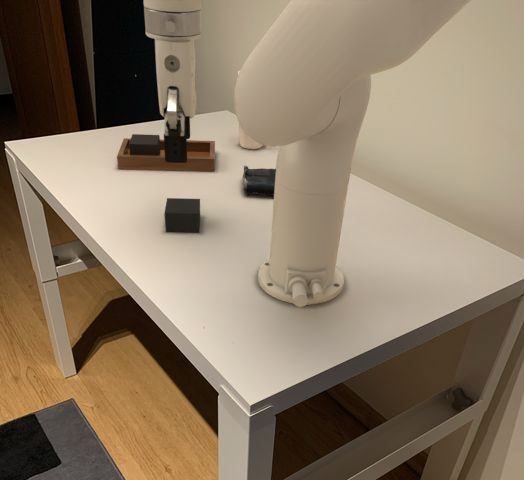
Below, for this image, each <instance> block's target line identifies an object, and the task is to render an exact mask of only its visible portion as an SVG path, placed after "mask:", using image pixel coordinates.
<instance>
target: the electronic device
mask: <svg viewBox="0 0 524 480" xmlns="http://www.w3.org/2000/svg"><path fill="white" fill-rule="evenodd" d="M275 176H276V168H249V166H247V165H243V174H242V179H243V181H244V183H243V187H244V188H243V191H244V194H245V195H249V194H254V195H268V196H269V195H271V196H274V190H275Z"/></svg>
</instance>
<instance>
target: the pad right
mask: <svg viewBox="0 0 524 480" xmlns="http://www.w3.org/2000/svg"><path fill="white" fill-rule="evenodd" d="M164 227H165V233H175V234H176V233H179V234H180V233H183V234H200V232H201V231H200V229H201V199H200V198H179V197H178V198H177V197H167V198H166V201H165V207H164Z"/></svg>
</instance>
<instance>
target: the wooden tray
mask: <svg viewBox="0 0 524 480" xmlns="http://www.w3.org/2000/svg"><path fill="white" fill-rule="evenodd" d="M130 140H131V138H127V137H126V138H123V140H122V142H121V145H120V147H119V150H118V152H117V155H116V160H117V167H118V168H117V169H118V170H139V171H141V170H142V171H174V172H175V171H177V172H178V171H179V172H180V171H181V172H215V170H216V169H215V167H216V141H215V140H192V139H191V140H190V139H187V162H186V163H171V162H166V161H165V149H164V139H162V138H160V150H161V152H160V156H158V155H130V149H129V142H130Z"/></svg>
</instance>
